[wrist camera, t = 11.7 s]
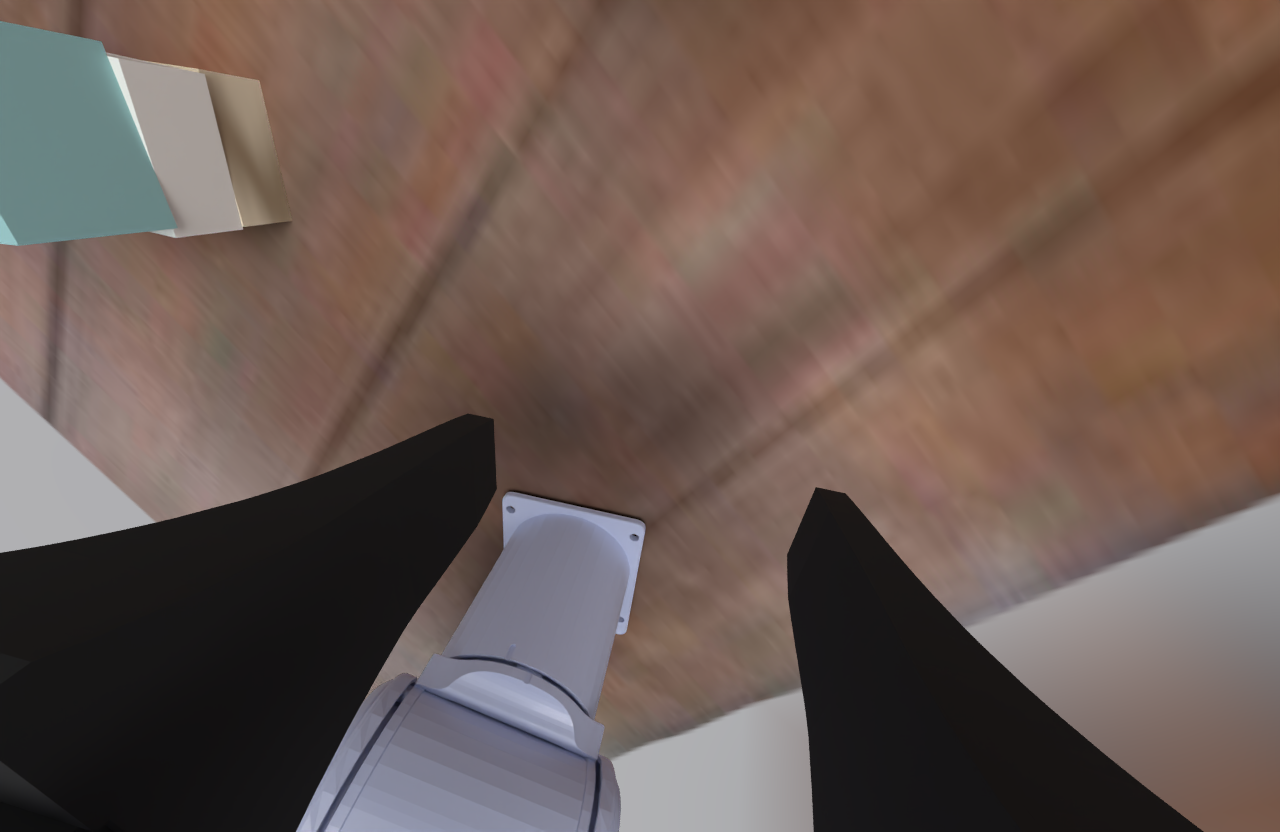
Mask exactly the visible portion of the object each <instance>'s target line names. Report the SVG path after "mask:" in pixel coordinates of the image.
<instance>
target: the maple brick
mask: <svg viewBox="0 0 1280 832" xmlns="http://www.w3.org/2000/svg"><path fill="white" fill-rule="evenodd" d="M148 62H149V61H148ZM152 63H155V62H152ZM157 64H161V65H166V66H171V67H175V68H180V69H184V70H189V71H193V72H198V73H203V74H205V77H206V82H207V86H208V90H209V94H210V98H211V102H212V106H213V110H214V114H215V118H216V122H217V126H218V130H219V134H220V138H221V142H222V146H223V150H224V154H225V158H226V162H227V166H228V170H229V174H230V178H231V182H232V186H233V190H234V195H235V199H236V203H237V207H238V211H239V215H240V219H241V223H242V227H247V226H255V225H264V224H272V223H280V222H288V221H292V217H291V213H290V209H289V205H288V200H287V196H286V192H285V188H284V183H283V179H282V175H281V171H280V166H279V162H278V158H277V154H276V149H275V145H274V141H273V137H272V132H271V128H270V124H269V120H268V115H267V111H266V107H265V103H264V98H263V94H262V90H261V86H260V81H259V80H255V79H249V78H244V77H238V76H233V75H228V74H222V73H217V72H212V71H206V70H201V69H195V68H188V67H182V66H175V65H169V64H162V63H157Z"/></svg>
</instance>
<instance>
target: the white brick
mask: <svg viewBox="0 0 1280 832" xmlns="http://www.w3.org/2000/svg"><path fill="white" fill-rule="evenodd" d="M106 54H107V57H108V59H109V62H110V64H111V66H112V69H113V71H114V74H115V76H116V79H117V81H118V83H119V86H120V88H121V91H122V93H123V96H124V98H125V101H126V103H127V105H128V108H129V110H130V113H131V115H132V118H133V120H134V122H135V125H136V127H137V130H138V132H139V135H140V137H141V140H142V142H143V144H144V147H145V149H146V152H147V154H148V157H149V159H150V161H151V164H152V166H153V169H154V171H155V174H156V176H157V178H158V181H159V183H160V186H161V188H162V191H163V193H164V196H165V198H166V200H167V203H168V205H169V208H170V210H171V213H172V215H173V217H174V220H175V222H176V225H177V227H178V228H175V229H166V230H157V231H149V232H153V233H157V234H162V235H166V236H170V237H174V238H180V237H188V236H196V235H203V234H211V233H219V232H227V231H235V230H243V227H242V223H241V219H240V215H239V211H238V207H237V203H236V199H235V195H234V190H233V186H232V182H231V178H230V174H229V170H228V166H227V162H226V158H225V154H224V150H223V146H222V142H221V138H220V134H219V130H218V126H217V122H216V118H215V114H214V110H213V106H212V102H211V98H210V94H209V90H208V86H207V82H206V77H205V74H203V73H198V72H193V71H189V70H184V69H180V68H175V67H171V66H166V65H161V64H157V63H152V62H148V61H143V60H138V59H134V58H129V57H125V56H120V55H115V54H111V53H106Z"/></svg>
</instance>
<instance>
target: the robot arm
mask: <svg viewBox="0 0 1280 832" xmlns="http://www.w3.org/2000/svg"><path fill="white" fill-rule="evenodd" d="M496 489H497V485H496V464H495V443H494V421H493V419H491V418H486V417H482V416H477V415H472V414H466V415H463V416H460V417H458V418H455V419H453V420H450V421H448V422H445V423H443V424H441V425H439V426H436V427H434V428H432V429H429V430H427V431H425V432H423V433H420V434H418V435H416V436H414V437H411V438H409V439H407V440H405V441H402V442H400V443H398V444H395V445H393V446H391V447H389V448H386V449H384V450H382V451H379V452H377V453H375V454H372V455H369V456H367V457H364V458H362V459H359V460H357V461H354V462H352V463H349V464H347V465H344V466H342V467H339V468H337V469H334V470H332V471H329V472H327V473H324V474H321V475H319V476H316V477H313V478H310V479H307V480H305V481H302V482H299V483H296V484H293V485H290V486H287V487H284V488H280V489H277V490H274V491H271V492H268V493H265V494H262V495H259V496H255V497H252V498H248V499H245V500H241V501H238V502H234V503H230V504H226V505H223V506H219V507H215V508H211V509H208V510H204V511H200V512H196V513H193V514H189V515H185V516H181V517H178V518H174V519H170V520H165V521H161V522H157V523H152V524H148V525H144V526H139V527H135V528H130V529H126V530H121V531H116V532H112V533H107V534H102V535H97V536H92V537H88V538H82V539H77V540H73V541H67V542H62V543H57V544H51V545H45V546H40V547H34V548H28V549H22V550H15V551H9V552H3V553H0V832H619V826H620V812H621V801H620V791H619V786H618V784H617V780H616V776H615V771H614V767H613V764H612V762H611V761H610V760H609V759H608V758H606V757H604V756H602V755H599V754H598V753H599V749H600V744H601V740H602V736H603V731H604V725H603V724H601V723H599V722H597V721H595V720H594V719H595V715H596V711H597V706H598V702H599V698H600V694H601V690H602V686H603V682H604V678H605V674H606V670H607V666H608V661H609V657H610V653H611V649H612V645H613V641H614V637H615V634H624V633H626V631H627V626H628V621H629V615H630V610H631V605H632V599H633V594H634V588H635V583H636V578H637V572H638V567H639V562H640V556H641V551H642V545H643V540H644V535H645V529H646V526H645V524H644V523H643V522H642V521H640V520H638V519H633V518H629V517H624V516H620V515H615V514H611V513H606V512H602V511H597V510H593V509H588V508H584V507H579V506H575V505H570V504H566V503H561V502H557V501H552V500H548V499H543V498H539V497H534V496H530V495H525V494H521V493H516V492H507V493H506V494H505V496H504V497H503V500H502V506H503V540H504V550H503V551H502V553H501V555H500V556H499V558H498V560H497V561H496V563H495V565H494V567H493V568H492V570H491V572H490V573H489V575H488V577H487V578H486V580H485V582H484V583H483V585H482V587H481V589H480V590H479V592H478V594H477V595H476V597H475V599H474V600H473V602H472V604H471V605H470V607H469V609H468V610H467V612H466V614H465V616H464V617H463V619H462V621H461V622H460V624H459V626H458V627H457V629H456V631H455V632H454V634H453V636H452V638H451V639H450V641H449V643H448V644H447V646H446V648H445V649H444V651H443V653H442V654H441V655H439V654H433V655H432V657H431V659H430V660H429V662H428V664H427V665H426V667H425V669H424V670H423V672H422V673H421V675H420V677H419V678H418V680H417V677H415V676H412V675H410V674H408V673H402V674H400V675H398V676H397V677H395V678H394V679H392V680H390V681H387V682H385V683H383V684H381V685H379V686H378V687H377V688H376V689H374V690H373V691H372V692H371V694H370V695H369V696H368V697H367V698H366V699H365V697H366V695H367V694H368V692H369V690H370V688H371V686H372V684H373V683H374V681H375V679H376V677H377V675H378V674H379V672H380V670H381V669H382V667H383V665H384V663H385V662H386V660H387V658H388V657H389V655H390V653H391V651H392V650H393V648H394V646H395V645H396V643H397V641H398V639H399V638H400V636H401V634H402V633H403V631H404V629H405V628H406V626H407V625H408V623H409V622H410V620H411V619H412V617H413V616H414V614H415V613H416V611H417V610H418V608H419V607H420V605H421V604H422V603H423V601H424V600H425V598H426V597H427V596H428V594H429V593H430V591H431V590H432V589H433V587H434V586H435V585H436V583H437V582H438V580H439V579H440V578H441V576H442V575H443V573H444V572H445V571H446V569H447V568H448V566H449V565H450V564H451V562H452V561H453V560H454V558H455V557H456V555H457V554H458V553H459V551H460V550H461V548H462V547H463V545H464V544H465V543H466V541H467V540H468V538H469V537H470V536H471V534H472V533H473V531H474V530H475V528H476V527H477V525H478V523H479V522H480V520H481V518H482V516H483V514H484V513H485V511H486V509H487V507H488V505H489V503H490V501H491V499H492V497H493V495H494V493H495V491H496ZM510 506H512V507H513V508H514V509H513V508H511V507H510ZM632 534H636V535H638V536H634V535H632ZM787 575H788V600H789V607H790V614H791V621H792V627H793V634H794V640H795V647H796V653H797V659H798V666H799V672H800V678H801V684H802V691H803V696H804V703H805V710H806V718H807V727H808V736H809V751H810V766H811V782H812V802H813V825H814V832H1203V831H1202V830H1201V829H1199V828H1198V827H1197V826H1195V825H1194V824H1192V822H1190V821H1189V820H1188V819H1186V818H1185V817H1184V816H1182V815H1181V814H1180V813H1178V812H1177V811H1176V810H1175V809H1173V808H1172V807H1171V806H1169V805H1168V804H1167V803H1165V802H1164V801H1163V800H1162V799H1160V798H1159V797H1158V796H1156V795H1155V794H1154V793H1152V792H1151V791H1150V790H1149V789H1147V788H1146V787H1145V786H1144V785H1142V784H1141V783H1140V782H1139V781H1137V780H1136V779H1135V778H1134V777H1132V776H1131V775H1130V774H1129V773H1127V772H1126V771H1125V770H1123V769H1122V768H1121V767H1120V766H1119V765H1117V764H1116V763H1115V762H1114V761H1112V760H1111V759H1110V758H1108V757H1107V756H1106V755H1105V754H1104V753H1102V752H1101V751H1100V750H1099V749H1098V748H1097V747H1095V746H1094V745H1093V744H1092V743H1091V742H1089V741H1088V740H1087V739H1086V738H1085V737H1084V736H1082V735H1081V734H1080V733H1079V732H1078V731H1076V730H1075V729H1074V728H1073V727H1072V726H1070V725H1069V724H1068V723H1067V722H1066V721H1065V720H1063V719H1062V718H1061V717H1060V716H1059V715H1058V714H1056V713H1055V712H1054V711H1053V710H1052V709H1050V708H1049V707H1048V706H1047V705H1046V704H1045V703H1044V702H1042V701H1041V700H1040V699H1039V698H1038V697H1037V696H1036V695H1035V694H1034V693H1032V692H1031V691H1030V690H1029V689H1028V688H1027V687H1026V686H1024V685H1023V684H1022V683H1021V682H1020V681H1019V680H1018V679H1017V678H1016V677H1015V676H1014V675H1013V674H1012V673H1011V672H1009V670H1007V669H1006V668H1005V667H1004V666H1003V665H1002V664H1001V663H1000V662H999V661H998V660H997V659H996V658H995V657H994V656H993V655H991V654H990V653H989V652H988V651H987V650H986V649H985V648H984V647H983V646H982V645H981V644H980V643H979V642H978V641H977V640H976V639H975V638H974V637H973V636H972V635H971V634H970V633H969V632H968V631H967V630H966V629H965V628H964V627H963V626H962V625H961V624H960V623H959V622H958V621H957V620H956V619H955V618H954V617H953V616H952V615H951V613H950V612H949V611H948V610H947V609H946V608H945V607H944V606H943V605H942V604H941V603H940V602H939V601H938V600H937V599H936V598H935V597H934V596H933V594H932V593H931V592H930V591H929V590H928V589H927V588H926V587H925V586H924V585H923V583H922V582H921V581H920V580H919V579H918V578H917V577H916V576H915V574H914V573H913V572H912V571H911V570H910V569H909V568H908V566H907V565H906V564H905V563H904V562H903V561H902V560H901V558H900V557H899V556H898V555H897V554H896V552H895V551H894V550H893V549H892V548H891V547H890V545H889V544H888V543H887V542H886V541H885V539H884V538H883V537H882V536H881V535H880V533H879V532H878V531H877V530H876V529H875V527H874V526H873V525H872V524H871V523H870V521H869V520H868V519H867V518H866V517H865V515H864V514H863V513H862V512H861V511H860V509H859V508H858V507H857V506H856V505H855V504H854V502H853V501H852V500H851V499H850V498H849V497H848V496H847V495H846V494H845V493H841V492H836V491H831V490H827V489H822V488H817V487H816V488H815V491H814V493H813V495H812V498H811V500H810V502H809V505H808V507H807V509H806V512H805V514H804V516H803V519H802V521H801V523H800V526H799V528H798V531H797V533H796V535H795V538H794V540H793V542H792V545H791V547H790V549H789V552H788V554H787ZM364 699H365V700H364ZM363 701H364V702H363Z"/></svg>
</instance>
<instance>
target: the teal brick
mask: <svg viewBox="0 0 1280 832" xmlns="http://www.w3.org/2000/svg"><path fill="white" fill-rule="evenodd" d="M175 228H178V227H177V225H176V222H175V220H174V217H173V215H172V213H171V210H170V208H169V205H168V203H167V200H166V198H165V196H164V193H163V191H162V188H161V186H160V183H159V181H158V178H157V176H156V174H155V171H154V169H153V166H152V164H151V161H150V159H149V157H148V154H147V152H146V149H145V147H144V144H143V142H142V140H141V137H140V135H139V132H138V130H137V127H136V125H135V122H134V120H133V118H132V115H131V113H130V110H129V108H128V105H127V103H126V101H125V98H124V96H123V93H122V91H121V88H120V86H119V83H118V81H117V79H116V76H115V74H114V71H113V69H112V66H111V64H110V62H109V59H108V57H107V54H106V52H105V49H104V47H103V44H102V42H101V41H96V40H91V39H86V38H81V37H76V36H71V35H67V34H62V33H57V32H52V31H47V30H42V29H37V28H32V27H27V26H22V25H17V24H12V23H7V22H2V21H0V244H9V245H17V246H20V245H29V244H39V243H48V242H57V241H66V240H75V239H84V238H93V237H102V236H111V235H121V234H130V233H139V232H148V231H157V230H166V229H175Z"/></svg>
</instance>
